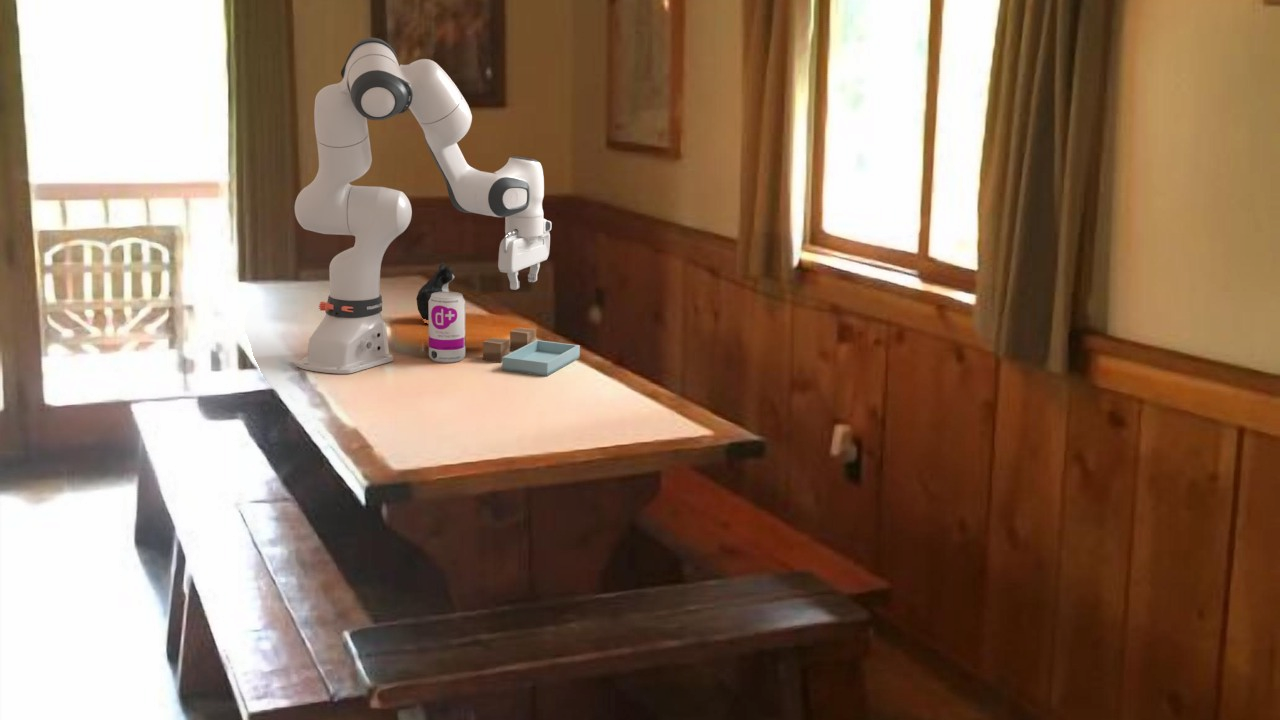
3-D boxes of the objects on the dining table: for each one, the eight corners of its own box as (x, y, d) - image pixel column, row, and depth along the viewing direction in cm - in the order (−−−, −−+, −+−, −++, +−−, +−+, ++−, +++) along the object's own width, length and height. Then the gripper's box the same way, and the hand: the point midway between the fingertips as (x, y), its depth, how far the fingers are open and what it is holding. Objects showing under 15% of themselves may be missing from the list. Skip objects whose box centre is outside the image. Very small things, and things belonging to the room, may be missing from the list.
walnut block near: (500, 363, 318) (500, 343, 317) (482, 360, 320) (483, 341, 319) (509, 358, 322) (509, 339, 321) (491, 356, 324) (491, 337, 323)
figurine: (462, 325, 352) (462, 267, 348) (425, 329, 347) (424, 269, 343) (449, 317, 360) (448, 260, 356) (412, 320, 355) (411, 262, 351)
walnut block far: (527, 351, 329) (527, 333, 328) (510, 349, 330) (510, 331, 329) (535, 347, 333) (535, 329, 332) (518, 345, 334) (518, 327, 333)
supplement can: (458, 364, 315) (458, 299, 311) (423, 361, 317) (423, 296, 313) (469, 356, 323) (470, 292, 319) (435, 353, 324) (435, 289, 321)
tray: (547, 376, 308) (547, 363, 307) (502, 370, 312) (502, 357, 311) (579, 357, 325) (579, 345, 324) (536, 352, 328) (536, 339, 327)
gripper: (516, 234, 313) (516, 295, 317) (554, 221, 332) (553, 279, 336) (491, 232, 316) (491, 292, 319) (530, 219, 334) (530, 276, 338)
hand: (523, 285), depth 328 cm, fingers open, 8 cm apart
